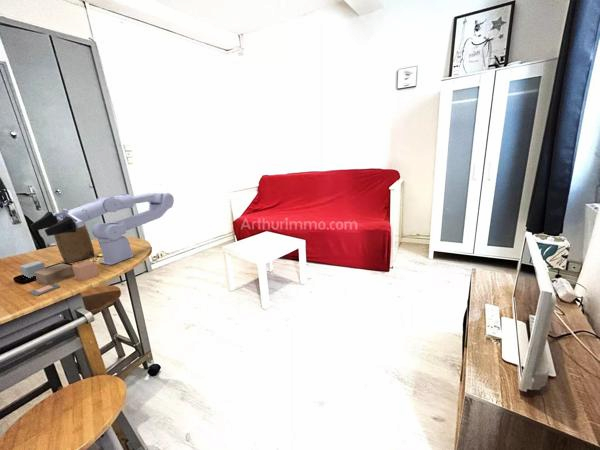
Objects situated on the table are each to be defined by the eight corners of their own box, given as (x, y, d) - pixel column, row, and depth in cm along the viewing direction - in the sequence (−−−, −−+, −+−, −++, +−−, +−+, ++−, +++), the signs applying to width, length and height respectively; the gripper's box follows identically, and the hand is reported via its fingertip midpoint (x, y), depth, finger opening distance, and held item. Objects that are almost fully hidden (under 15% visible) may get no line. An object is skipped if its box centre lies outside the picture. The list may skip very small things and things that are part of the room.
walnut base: (65, 272, 100) (61, 263, 99) (75, 276, 97) (72, 266, 96) (37, 282, 93) (34, 272, 92) (48, 286, 90) (44, 275, 89)
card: (51, 284, 90) (51, 282, 90) (60, 287, 88) (59, 285, 88) (28, 292, 85) (28, 291, 85) (37, 296, 83) (36, 294, 83)
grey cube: (41, 272, 101) (37, 260, 100) (47, 274, 99) (43, 262, 98) (24, 278, 97) (19, 266, 96) (30, 280, 95) (25, 268, 93)
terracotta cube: (91, 272, 98) (87, 260, 97) (99, 274, 96) (95, 262, 94) (75, 278, 94) (71, 266, 92) (83, 281, 91) (79, 267, 90)
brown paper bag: (62, 265, 107) (46, 217, 102) (64, 259, 113) (49, 214, 108) (95, 257, 113) (81, 212, 108) (95, 252, 119) (82, 209, 114)
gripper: (65, 200, 97) (19, 215, 86) (92, 207, 93) (47, 224, 82) (72, 217, 101) (29, 233, 89) (99, 225, 96) (57, 243, 85)
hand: (38, 230), depth 86 cm, fingers open, 7 cm apart
